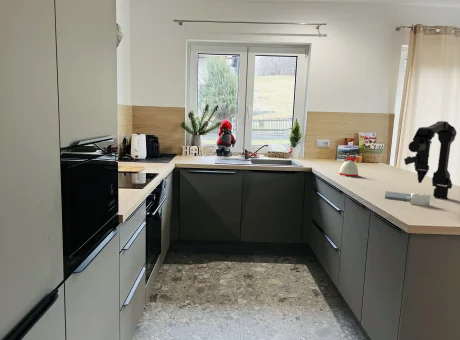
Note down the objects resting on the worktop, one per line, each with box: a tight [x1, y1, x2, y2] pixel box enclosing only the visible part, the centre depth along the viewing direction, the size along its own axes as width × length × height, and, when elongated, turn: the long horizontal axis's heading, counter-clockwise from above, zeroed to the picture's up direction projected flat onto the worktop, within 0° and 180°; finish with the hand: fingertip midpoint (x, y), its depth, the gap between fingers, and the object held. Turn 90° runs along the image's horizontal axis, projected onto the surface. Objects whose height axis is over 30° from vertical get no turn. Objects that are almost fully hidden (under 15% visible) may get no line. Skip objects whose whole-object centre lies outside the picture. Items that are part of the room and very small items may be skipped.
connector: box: [407, 192, 431, 207], centre depth 191 cm, size 11×4×5 cm, turn 66°
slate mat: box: [384, 191, 411, 202], centre depth 205 cm, size 16×16×1 cm
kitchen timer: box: [338, 155, 359, 177], centre depth 281 cm, size 14×14×15 cm
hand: (419, 181), depth 191 cm, fingers open, 9 cm apart
